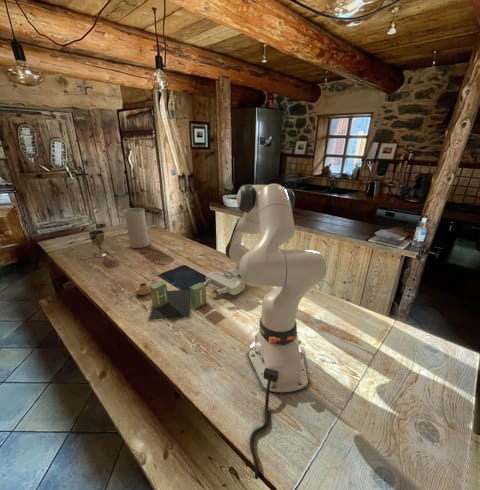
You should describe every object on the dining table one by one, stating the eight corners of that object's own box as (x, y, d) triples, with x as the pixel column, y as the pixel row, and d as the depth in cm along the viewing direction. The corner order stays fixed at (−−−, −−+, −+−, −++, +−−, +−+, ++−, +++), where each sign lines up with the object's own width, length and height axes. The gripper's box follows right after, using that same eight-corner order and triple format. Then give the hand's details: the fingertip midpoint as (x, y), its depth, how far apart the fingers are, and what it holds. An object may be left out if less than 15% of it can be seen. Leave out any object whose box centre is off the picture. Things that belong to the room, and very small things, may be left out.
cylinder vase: (145, 248, 179) (140, 212, 169) (127, 248, 180) (120, 212, 169) (151, 242, 191) (146, 207, 181) (134, 242, 191) (128, 207, 181)
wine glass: (110, 254, 171) (106, 231, 165) (99, 258, 165) (93, 235, 159) (103, 251, 175) (98, 229, 169) (91, 255, 169) (86, 233, 163)
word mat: (188, 318, 111) (188, 316, 111) (149, 321, 109) (149, 319, 109) (191, 290, 131) (191, 289, 130) (157, 292, 129) (157, 291, 129)
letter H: (168, 303, 120) (166, 283, 116) (157, 308, 116) (154, 288, 112) (164, 299, 122) (161, 280, 118) (152, 305, 118) (149, 285, 114)
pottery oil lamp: (163, 287, 133) (161, 279, 127) (144, 304, 126) (141, 296, 121) (150, 277, 135) (148, 269, 130) (131, 293, 129) (128, 286, 123)
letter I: (206, 304, 120) (205, 284, 116) (196, 309, 116) (195, 290, 112) (201, 300, 123) (200, 282, 118) (191, 306, 118) (189, 287, 114)
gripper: (217, 265, 137) (196, 275, 127) (247, 279, 124) (226, 290, 115) (217, 276, 139) (197, 286, 130) (247, 290, 126) (226, 302, 117)
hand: (210, 288), depth 122 cm, fingers open, 8 cm apart
